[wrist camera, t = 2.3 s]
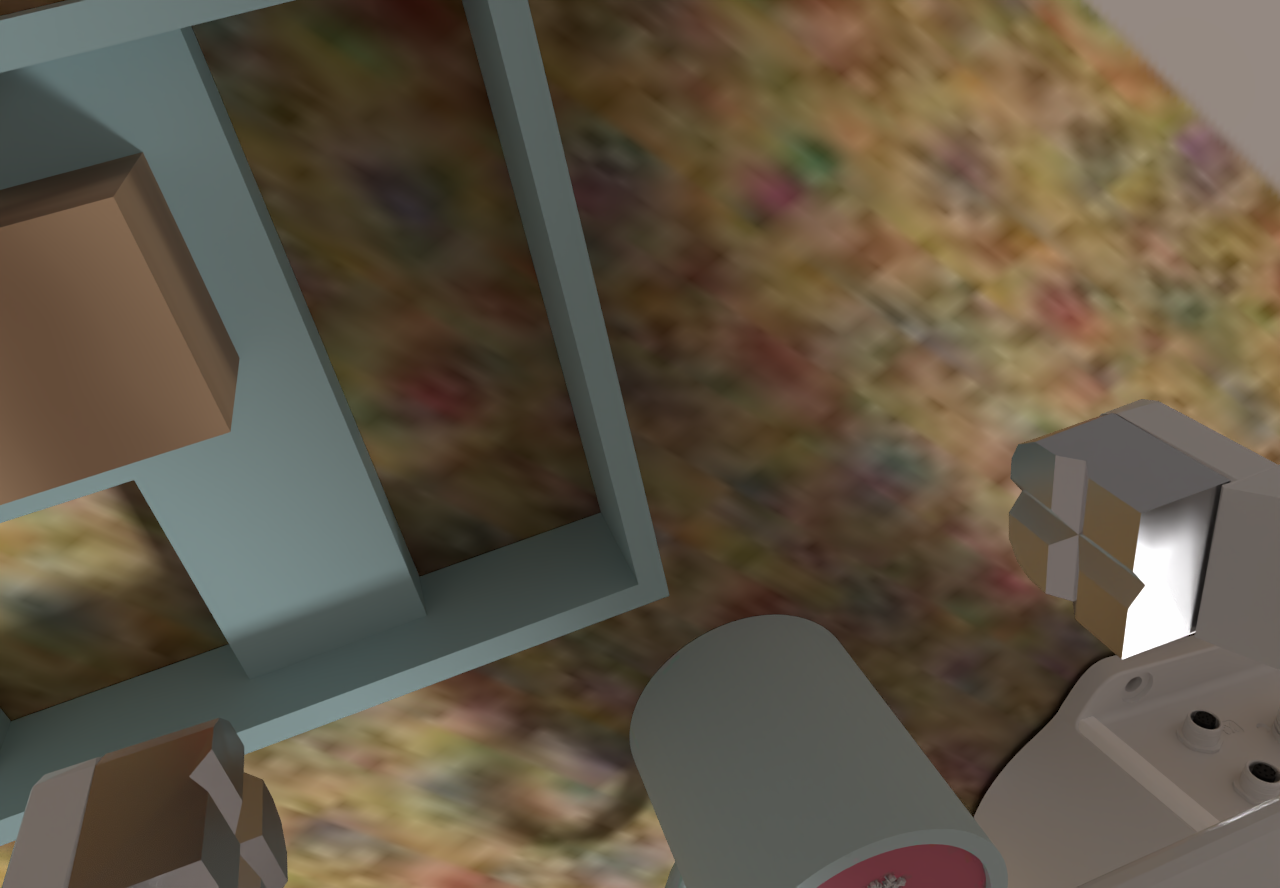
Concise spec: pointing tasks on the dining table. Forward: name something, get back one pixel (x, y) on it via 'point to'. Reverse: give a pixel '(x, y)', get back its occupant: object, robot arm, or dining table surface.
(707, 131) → the dining table surface
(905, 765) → the mug
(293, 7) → the dining table surface
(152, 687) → the tray
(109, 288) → the block
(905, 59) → the dining table surface
